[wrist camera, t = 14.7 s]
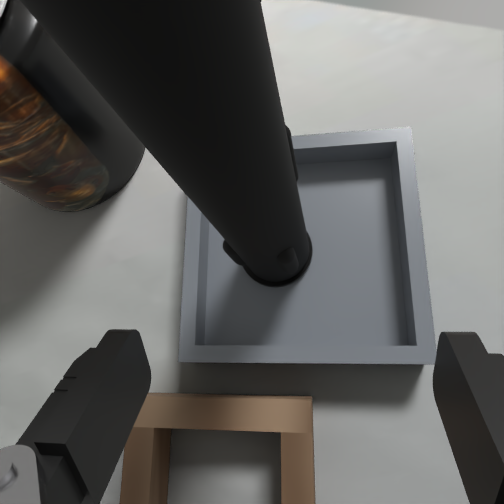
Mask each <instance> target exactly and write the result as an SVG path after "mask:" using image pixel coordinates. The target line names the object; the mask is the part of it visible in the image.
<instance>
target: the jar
mask: <svg viewBox="0 0 504 504" xmlns="http://www.w3.org/2000/svg"><path fill="white" fill-rule="evenodd" d="M144 150H145V146H144V145H143V144H142V142H141V141H140V140H139V139H138V138H137V137H136V135H135V134H134V133H133V132H132V131H131V130H130V128H129V127H128V126H127V125H126V124H125V123H124V121H123V120H122V119H121V118H120V117H119V116H118V114H117V113H116V112H115V111H114V110H113V109H112V107H111V106H110V105H109V104H108V103H107V102H106V100H105V99H104V98H103V97H102V96H101V95H100V93H99V92H98V91H97V90H96V89H95V88H94V86H93V85H92V84H91V83H90V82H89V81H88V79H87V78H86V77H85V76H84V75H83V74H82V72H81V71H80V70H79V69H78V68H77V67H76V65H75V64H74V63H73V62H72V61H71V60H70V58H69V57H68V56H67V55H66V54H65V53H64V51H63V50H62V49H61V48H60V47H59V46H58V44H57V43H56V42H55V41H54V40H53V39H52V37H51V36H50V35H49V34H48V33H47V32H46V30H45V29H44V28H43V27H42V26H41V25H40V23H39V22H38V21H37V20H36V19H35V18H34V17H33V15H32V14H31V13H30V12H29V11H28V10H27V8H26V7H25V6H24V5H23V4H22V3H21V1H20V0H0V182H1V183H3V184H5V185H7V186H8V187H10V188H12V189H14V190H15V191H17V192H19V193H21V194H22V195H24V196H26V197H28V198H29V199H31V200H33V201H35V202H36V203H38V204H40V205H42V206H44V207H47V208H49V209H53V210H57V211H64V212H71V211H79V210H84V209H87V208H90V207H93V206H95V205H97V204H100V203H101V202H103V201H105V200H107V199H108V198H110V197H111V196H112V195H114V194H115V193H116V192H117V191H119V190H120V189H121V188H122V187H123V186H124V185H125V184H126V182H127V181H128V180H129V179H130V178H131V176H132V175H133V173H134V172H135V170H136V169H137V167H138V165H139V163H140V161H141V158H142V156H143V153H144Z"/></svg>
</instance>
